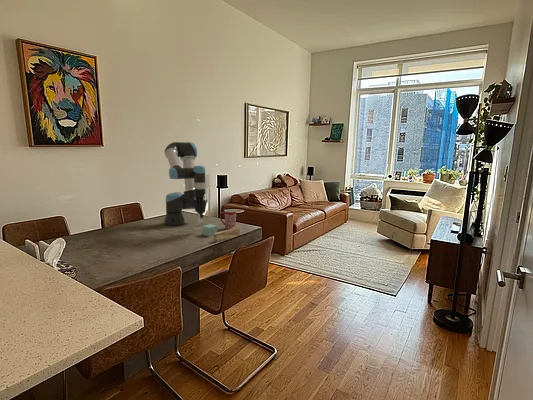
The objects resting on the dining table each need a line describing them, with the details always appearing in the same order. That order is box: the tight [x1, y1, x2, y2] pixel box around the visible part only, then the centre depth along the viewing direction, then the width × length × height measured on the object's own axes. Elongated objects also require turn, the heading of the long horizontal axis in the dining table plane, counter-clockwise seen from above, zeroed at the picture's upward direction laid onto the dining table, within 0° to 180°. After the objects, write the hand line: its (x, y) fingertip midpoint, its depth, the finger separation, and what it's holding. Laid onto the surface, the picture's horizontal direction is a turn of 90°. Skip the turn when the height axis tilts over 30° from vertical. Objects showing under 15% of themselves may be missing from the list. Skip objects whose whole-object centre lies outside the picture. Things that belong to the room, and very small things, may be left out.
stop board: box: [213, 226, 241, 243], centre depth 207 cm, size 5×20×5 cm, turn 141°
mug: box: [219, 209, 238, 230], centre depth 230 cm, size 13×9×14 cm
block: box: [201, 223, 218, 237], centre depth 215 cm, size 7×7×6 cm
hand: (200, 222), depth 220 cm, fingers closed
